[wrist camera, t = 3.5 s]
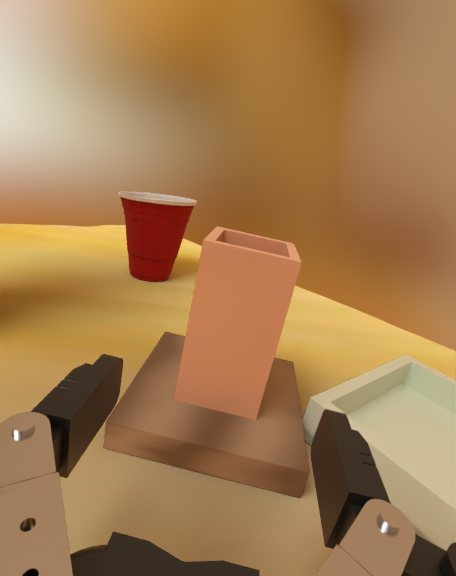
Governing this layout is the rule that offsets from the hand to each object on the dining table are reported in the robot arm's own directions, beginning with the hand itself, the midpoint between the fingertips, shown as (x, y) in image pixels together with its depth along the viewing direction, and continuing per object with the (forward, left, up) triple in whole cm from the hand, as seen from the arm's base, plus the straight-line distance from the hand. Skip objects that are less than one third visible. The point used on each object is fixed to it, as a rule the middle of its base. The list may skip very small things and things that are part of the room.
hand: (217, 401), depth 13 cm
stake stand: (-7, +7, -9) cm, 13 cm away
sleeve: (-7, +7, -7) cm, 12 cm away
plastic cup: (-35, +15, -9) cm, 39 cm away
